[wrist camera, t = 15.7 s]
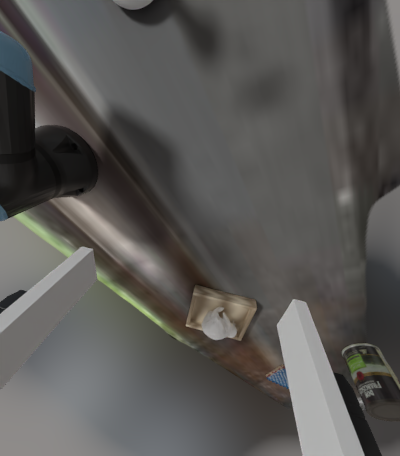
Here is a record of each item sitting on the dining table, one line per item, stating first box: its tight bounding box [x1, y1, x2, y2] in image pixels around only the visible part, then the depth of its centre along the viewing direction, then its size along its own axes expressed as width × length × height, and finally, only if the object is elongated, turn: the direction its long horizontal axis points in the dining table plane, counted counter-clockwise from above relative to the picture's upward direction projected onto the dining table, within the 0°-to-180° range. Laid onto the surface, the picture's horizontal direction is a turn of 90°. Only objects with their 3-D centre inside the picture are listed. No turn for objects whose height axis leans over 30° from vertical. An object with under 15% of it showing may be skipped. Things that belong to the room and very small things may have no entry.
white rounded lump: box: [201, 307, 237, 340], centre depth 57 cm, size 6×8×12 cm
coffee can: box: [342, 343, 400, 421], centre depth 53 cm, size 10×10×14 cm
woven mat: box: [266, 365, 289, 389], centre depth 71 cm, size 10×11×2 cm
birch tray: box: [186, 285, 257, 341], centre depth 59 cm, size 18×16×3 cm
